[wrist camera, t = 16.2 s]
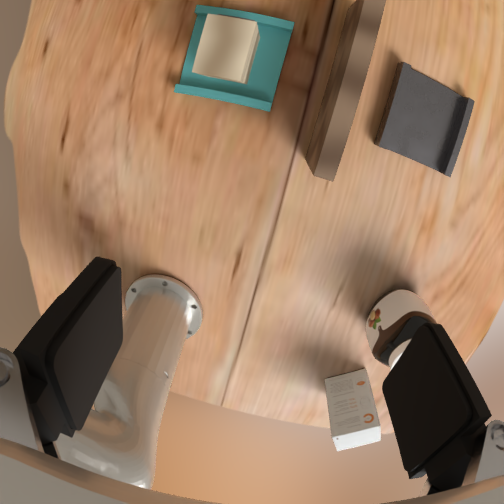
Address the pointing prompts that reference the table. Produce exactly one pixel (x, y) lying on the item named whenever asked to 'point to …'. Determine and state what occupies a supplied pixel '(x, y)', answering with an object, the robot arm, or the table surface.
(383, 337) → the spread jar
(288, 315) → the table surface
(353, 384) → the small box
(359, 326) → the table surface
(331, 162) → the door panel
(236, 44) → the block
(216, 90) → the teal square tray
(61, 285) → the table surface
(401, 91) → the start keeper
